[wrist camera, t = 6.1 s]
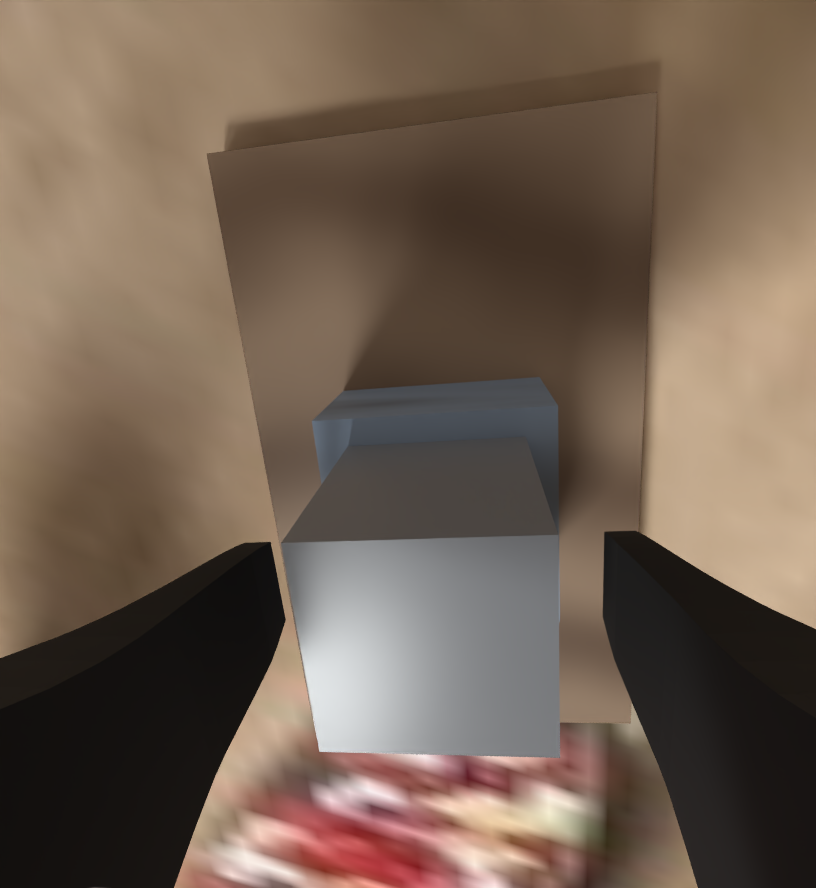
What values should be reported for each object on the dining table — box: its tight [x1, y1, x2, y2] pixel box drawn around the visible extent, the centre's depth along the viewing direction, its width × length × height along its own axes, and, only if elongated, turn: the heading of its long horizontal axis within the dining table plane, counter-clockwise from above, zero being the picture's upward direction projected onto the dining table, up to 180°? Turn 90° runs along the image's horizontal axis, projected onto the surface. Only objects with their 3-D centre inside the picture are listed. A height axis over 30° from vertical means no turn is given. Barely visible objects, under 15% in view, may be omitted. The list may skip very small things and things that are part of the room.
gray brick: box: [281, 437, 560, 758], centre depth 11 cm, size 4×4×5 cm
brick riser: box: [207, 92, 657, 723], centre depth 16 cm, size 20×12×4 cm, turn 5°
